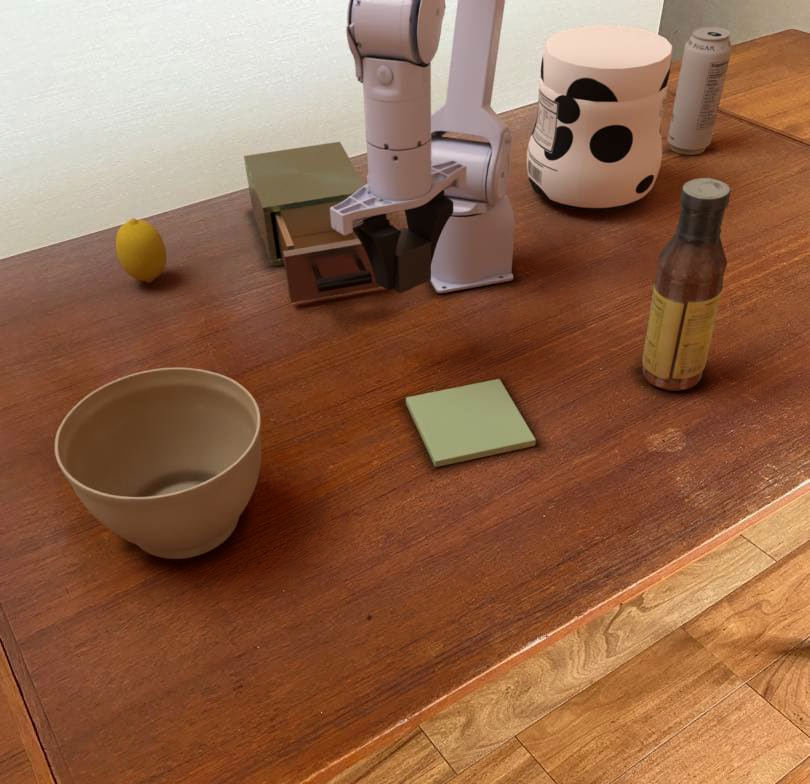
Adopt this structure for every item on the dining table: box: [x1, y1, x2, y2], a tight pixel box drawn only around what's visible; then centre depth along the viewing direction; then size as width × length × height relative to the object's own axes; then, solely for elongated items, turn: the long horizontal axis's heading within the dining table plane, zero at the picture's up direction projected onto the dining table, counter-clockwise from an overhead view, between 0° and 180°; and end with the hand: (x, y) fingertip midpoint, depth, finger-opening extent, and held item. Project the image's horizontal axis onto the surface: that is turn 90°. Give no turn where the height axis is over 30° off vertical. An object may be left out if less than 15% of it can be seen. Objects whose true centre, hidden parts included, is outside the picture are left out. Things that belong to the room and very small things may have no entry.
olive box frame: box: [243, 141, 365, 267], centre depth 109 cm, size 15×13×8 cm
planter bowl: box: [54, 367, 262, 560], centre depth 73 cm, size 16×16×11 cm
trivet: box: [405, 378, 537, 468], centre depth 84 cm, size 10×10×1 cm
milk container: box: [526, 24, 673, 212], centre depth 110 cm, size 17×17×18 cm
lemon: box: [115, 217, 167, 284], centre depth 101 cm, size 6×6×8 cm
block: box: [392, 227, 431, 295], centre depth 84 cm, size 4×4×4 cm
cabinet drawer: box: [272, 201, 383, 303], centre depth 101 cm, size 18×11×6 cm, turn 16°
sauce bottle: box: [641, 177, 731, 392], centre depth 82 cm, size 7×6×20 cm
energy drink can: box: [667, 26, 733, 156], centre depth 120 cm, size 6×6×15 cm
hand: (403, 277), depth 86 cm, fingers closed on block, 4 cm apart
